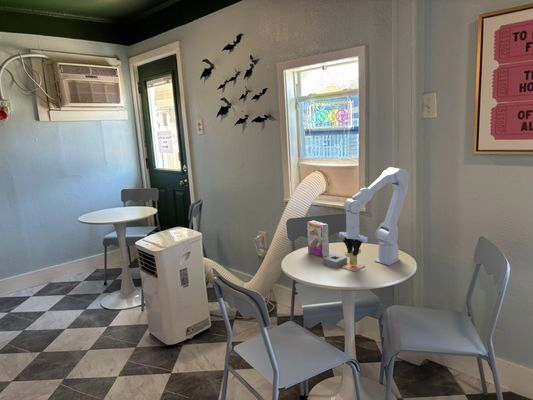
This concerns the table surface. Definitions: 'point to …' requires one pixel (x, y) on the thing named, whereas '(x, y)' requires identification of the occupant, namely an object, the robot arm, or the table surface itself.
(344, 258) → the slate socket block
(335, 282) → the table surface
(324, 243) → the candy bar box
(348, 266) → the terracotta pad
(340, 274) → the table surface
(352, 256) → the brass rectangular peg
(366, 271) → the table surface
